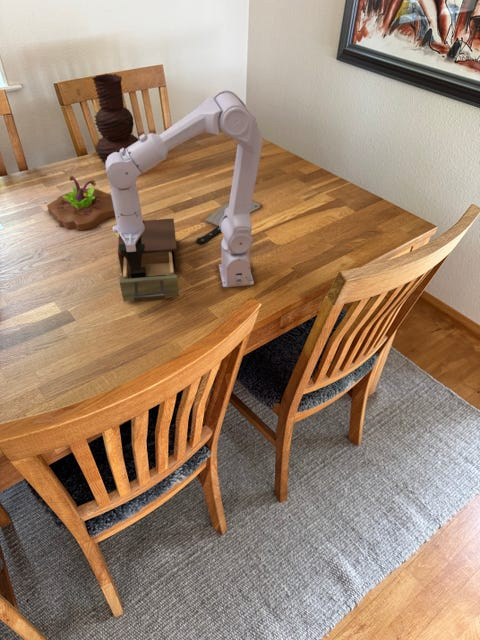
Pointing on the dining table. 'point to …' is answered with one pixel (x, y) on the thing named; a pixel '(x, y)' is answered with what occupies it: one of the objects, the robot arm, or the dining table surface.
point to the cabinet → (157, 239)
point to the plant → (82, 207)
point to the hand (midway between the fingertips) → (136, 259)
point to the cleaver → (216, 219)
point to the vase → (112, 117)
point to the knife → (140, 273)
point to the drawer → (150, 278)
